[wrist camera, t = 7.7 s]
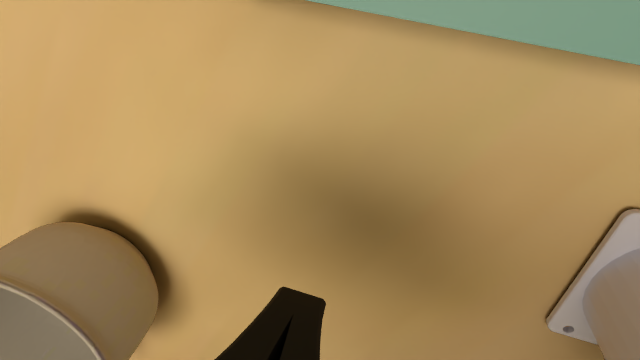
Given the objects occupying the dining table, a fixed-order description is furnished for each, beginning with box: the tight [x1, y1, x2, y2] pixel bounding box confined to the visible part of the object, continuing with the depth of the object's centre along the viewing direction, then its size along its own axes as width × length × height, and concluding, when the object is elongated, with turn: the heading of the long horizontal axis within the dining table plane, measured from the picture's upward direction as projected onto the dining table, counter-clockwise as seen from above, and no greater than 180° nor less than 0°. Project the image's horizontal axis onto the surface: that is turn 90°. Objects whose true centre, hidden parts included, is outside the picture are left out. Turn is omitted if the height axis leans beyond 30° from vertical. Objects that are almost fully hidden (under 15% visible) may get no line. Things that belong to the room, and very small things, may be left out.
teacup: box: [0, 222, 158, 360], centre depth 25 cm, size 14×11×8 cm
